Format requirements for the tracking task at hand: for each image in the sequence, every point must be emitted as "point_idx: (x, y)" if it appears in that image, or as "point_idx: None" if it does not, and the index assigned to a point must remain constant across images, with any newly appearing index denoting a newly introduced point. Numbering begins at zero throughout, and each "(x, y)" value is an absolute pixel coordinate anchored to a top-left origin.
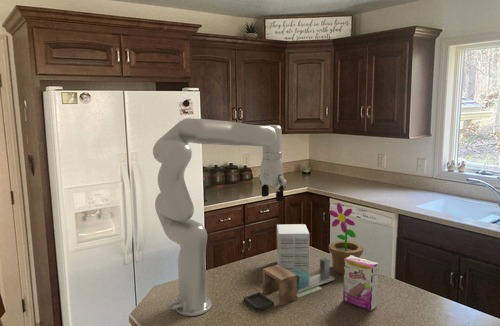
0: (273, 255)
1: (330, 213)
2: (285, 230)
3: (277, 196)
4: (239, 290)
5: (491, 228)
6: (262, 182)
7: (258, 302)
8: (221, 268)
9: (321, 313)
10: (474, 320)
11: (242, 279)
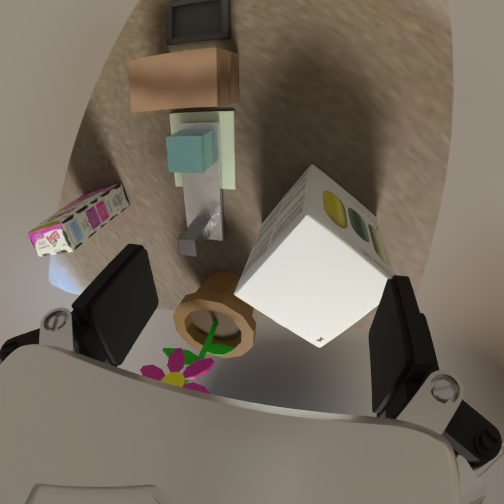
0: (410, 238)
1: (205, 392)
2: (319, 262)
3: (106, 275)
4: (289, 13)
5: None
6: (361, 433)
7: (195, 18)
8: (445, 67)
9: (105, 117)
10: (50, 272)
11: (345, 57)
